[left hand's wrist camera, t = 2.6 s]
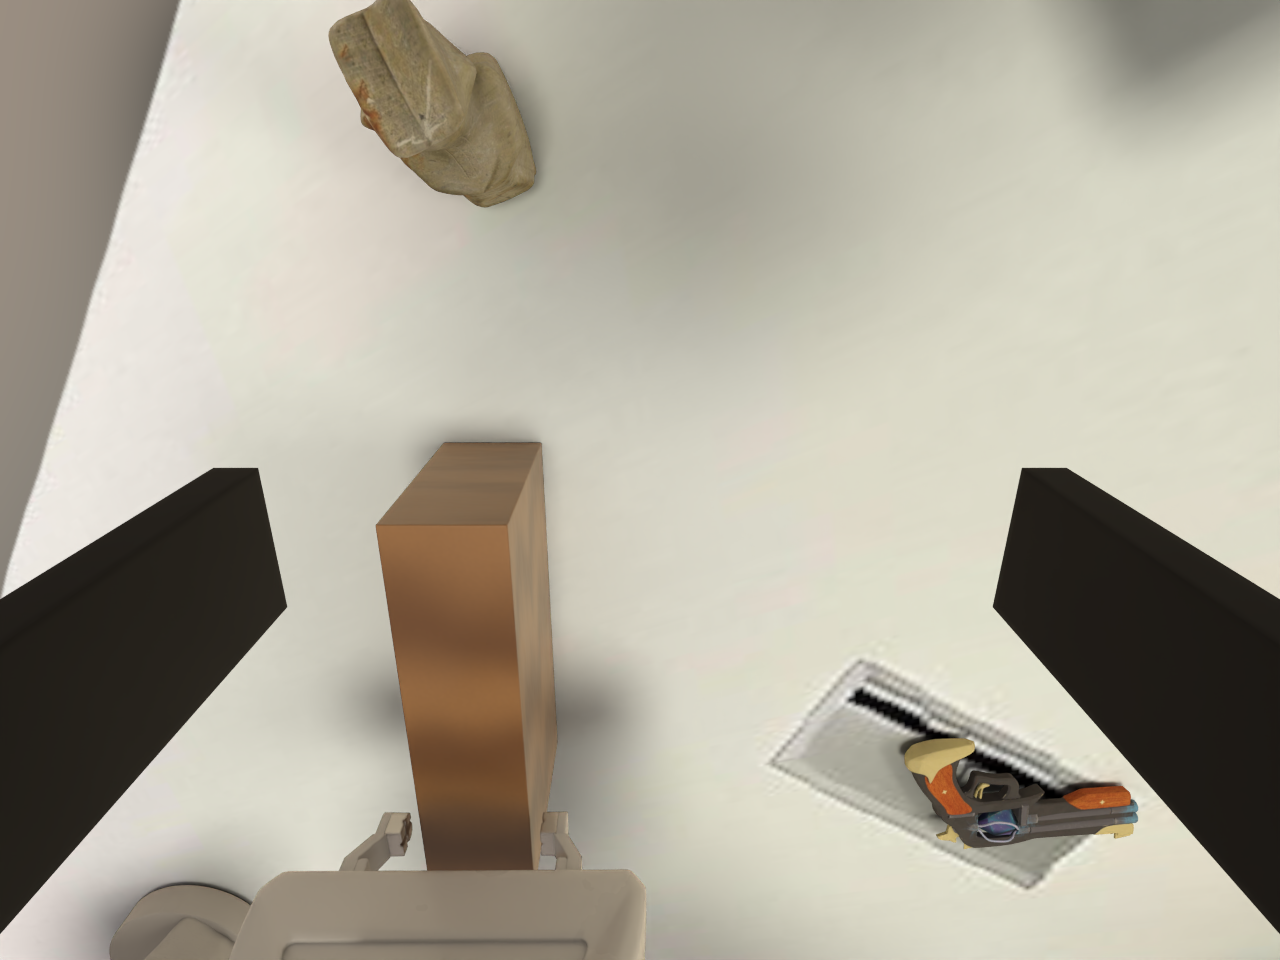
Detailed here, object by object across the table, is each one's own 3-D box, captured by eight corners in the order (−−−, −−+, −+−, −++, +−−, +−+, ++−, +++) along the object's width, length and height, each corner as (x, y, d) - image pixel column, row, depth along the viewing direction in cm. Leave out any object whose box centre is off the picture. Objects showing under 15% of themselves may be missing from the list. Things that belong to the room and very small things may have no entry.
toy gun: (913, 757, 52) (908, 868, 55) (1159, 735, 53) (1143, 845, 56) (898, 735, 55) (894, 843, 57) (1133, 714, 56) (1118, 821, 58)
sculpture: (511, 45, 38) (435, -50, 24) (561, 182, 40) (519, 170, 26) (413, 86, 38) (283, 19, 25) (468, 218, 41) (379, 226, 27)
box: (443, 442, 46) (374, 525, 34) (541, 442, 46) (507, 525, 34) (475, 742, 55) (429, 890, 43) (557, 742, 55) (535, 890, 43)
